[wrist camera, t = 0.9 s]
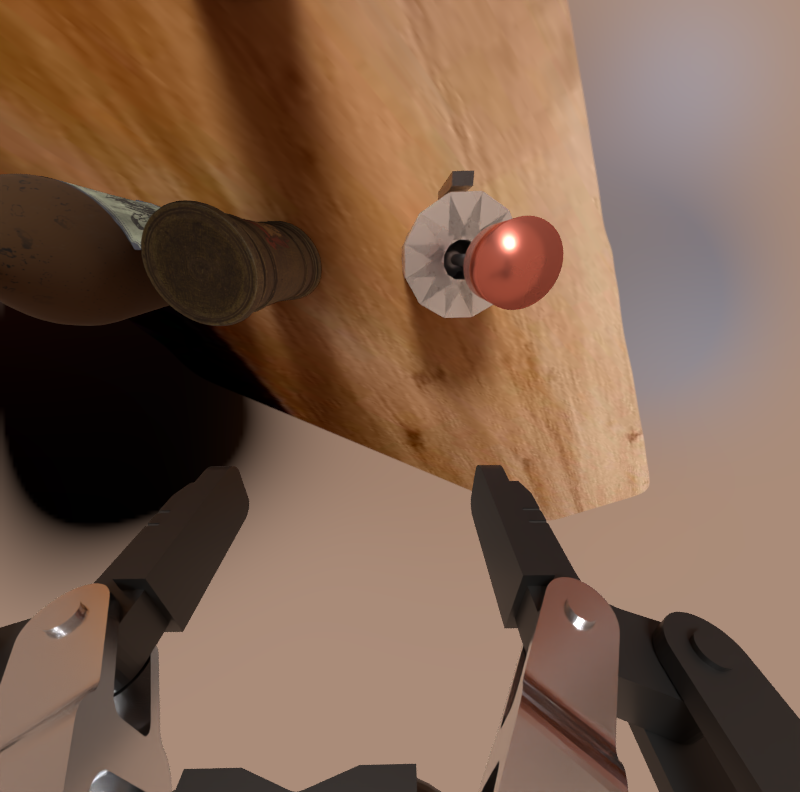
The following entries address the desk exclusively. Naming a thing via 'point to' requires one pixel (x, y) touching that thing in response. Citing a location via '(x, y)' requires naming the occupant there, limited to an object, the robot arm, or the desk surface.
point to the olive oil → (72, 252)
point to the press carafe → (432, 237)
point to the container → (225, 262)
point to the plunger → (509, 262)
